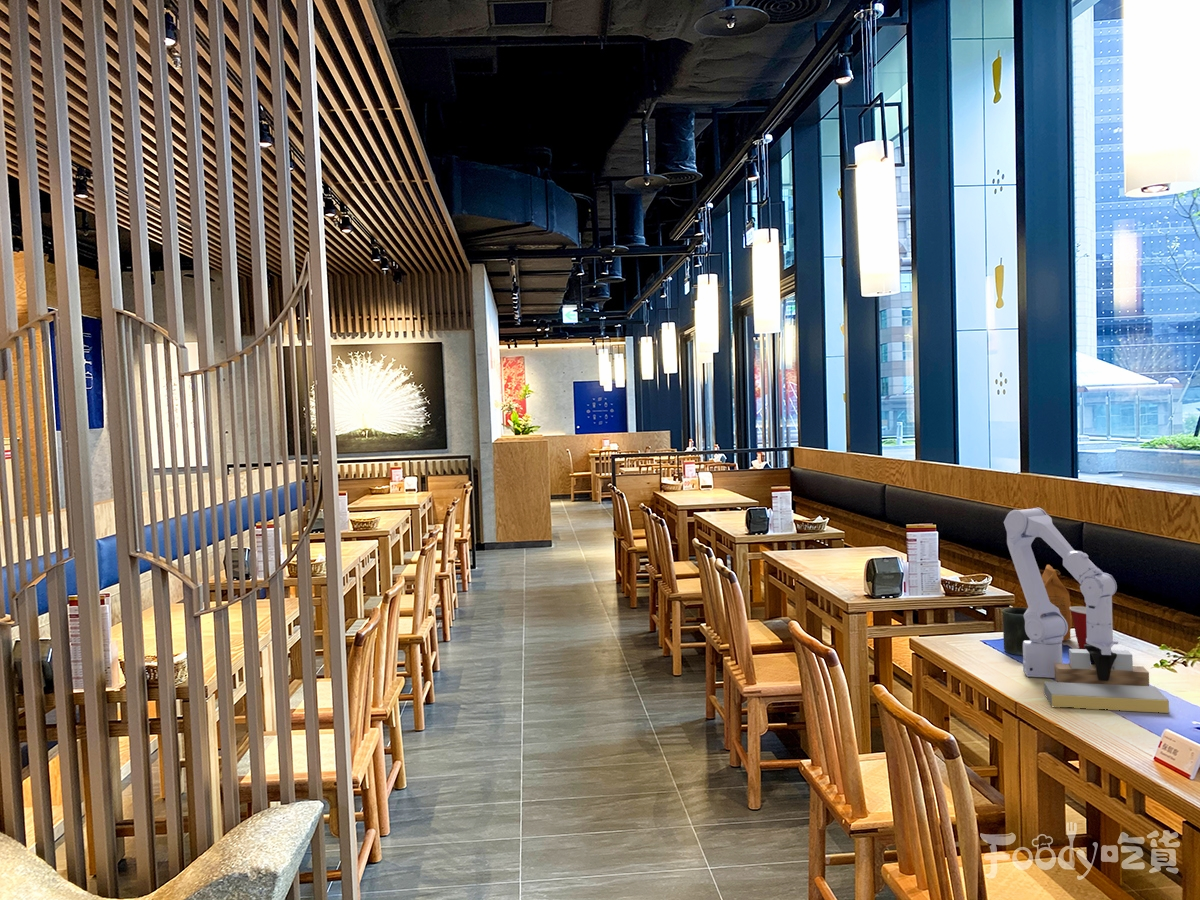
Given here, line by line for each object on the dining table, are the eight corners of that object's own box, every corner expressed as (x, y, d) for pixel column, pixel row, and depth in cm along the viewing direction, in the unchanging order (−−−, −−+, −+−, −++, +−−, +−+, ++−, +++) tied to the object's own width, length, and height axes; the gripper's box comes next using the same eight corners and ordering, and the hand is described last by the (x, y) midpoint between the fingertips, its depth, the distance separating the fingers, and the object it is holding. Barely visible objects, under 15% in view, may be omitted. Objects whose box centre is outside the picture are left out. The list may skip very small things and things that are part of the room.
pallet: (1058, 684, 227) (1057, 668, 226) (1054, 678, 232) (1054, 663, 232) (1149, 688, 220) (1148, 672, 220) (1143, 682, 226) (1143, 666, 225)
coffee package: (1066, 633, 283) (1064, 563, 283) (1074, 643, 272) (1072, 570, 271) (1031, 632, 287) (1029, 563, 286) (1037, 641, 275) (1035, 569, 274)
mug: (1005, 656, 260) (1004, 614, 260) (997, 644, 274) (996, 604, 274) (1047, 657, 257) (1045, 615, 257) (1036, 645, 271) (1035, 605, 271)
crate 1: (1072, 668, 226) (1071, 652, 226) (1069, 664, 230) (1068, 648, 230) (1090, 669, 225) (1089, 653, 225) (1086, 665, 229) (1086, 649, 229)
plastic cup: (1120, 653, 258) (1119, 611, 258) (1082, 654, 258) (1080, 612, 258) (1099, 644, 269) (1098, 604, 268) (1063, 645, 269) (1062, 605, 269)
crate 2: (1114, 670, 223) (1114, 654, 223) (1110, 666, 227) (1110, 650, 227) (1132, 670, 222) (1132, 654, 222) (1128, 666, 226) (1128, 650, 226)
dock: (1052, 707, 212) (1051, 694, 212) (1044, 693, 223) (1044, 681, 223) (1169, 713, 205) (1168, 700, 205) (1155, 698, 216) (1154, 686, 216)
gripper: (1124, 629, 218) (1125, 685, 218) (1110, 617, 231) (1111, 669, 232) (1091, 628, 220) (1093, 684, 220) (1079, 616, 234) (1081, 668, 234)
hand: (1100, 676), depth 226 cm, fingers closed on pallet, 6 cm apart
